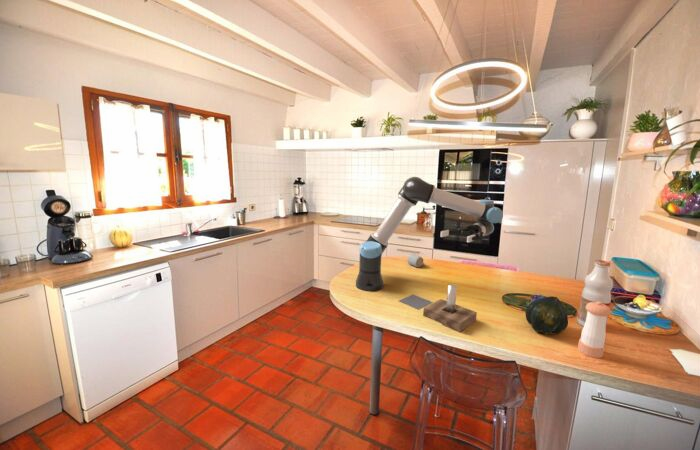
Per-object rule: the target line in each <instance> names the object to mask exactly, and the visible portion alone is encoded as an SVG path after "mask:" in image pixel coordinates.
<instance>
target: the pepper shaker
mask: <svg viewBox="0 0 700 450" xmlns="http://www.w3.org/2000/svg"><path fill="white" fill-rule="evenodd" d="M586 310H587V311H588V312H587V317H586V322H585V325H584V327H583V326H582V329H581V336H580V338H579V340H578V345H577V349H578V351H579V352H581V354H584V355H586V356H588V357H591V358H594V359H595V358H596V359H601V358H603V357H604V353H605V348H606V346H605V341H606V338H607V336H606V335H607V334H606V330H607V329H606V327H607V323H606V321H607V322H608V318H607V316H608V317H610V316H611V314H612V309H611V308H610V307H608V306H606V305H604V304H602V303H601V302H590V303H588V304H587V305H586Z"/></svg>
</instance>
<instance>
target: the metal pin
mask: <svg viewBox="0 0 700 450" xmlns="http://www.w3.org/2000/svg"><path fill="white" fill-rule="evenodd" d="M457 291H458V286H457V285H456V284H448V285H447V295H446V301H447V303H446V312H448V313H451V314H453V313H455V304H456V302H457Z"/></svg>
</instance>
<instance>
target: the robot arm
mask: <svg viewBox="0 0 700 450" xmlns="http://www.w3.org/2000/svg"><path fill="white" fill-rule="evenodd" d="M397 197H398V198H397V199H396V201H395V203H393V205H392V207H391V208H390V210H389V211H388V213H387V214H386V216H385V217H384V219H383V220H382V222H381V223H380V225H379V227H378V228H377V229H376V231H375V232H372V233H370V235H369V236H368V238H367V239H366V240H365V241H364V242H363V243H361V244H360V247H359V251H358V252H359V265H358V266H359V267H358V268H359V270H358V274H357V277H356V280H355V286H356V288H357V289H359V290H362V291H369V292H370V291H371V292H372V291H373V292H375V291H380V290H382V289H383V288H384V280H383V276H382V271H381V270H382V256H383V253H384V252H385V251H386V249H387V248H388V246H389V240H390V238H391V237H392V236H393V234H394V233H395V231H396V230H397V228H398V226H399V225H400V224H401V223H402V221H403V220H404V218H405V216H406V215H407V214H408V212H409V211H410V209H411V208H412V207H415V206H416V205H417V204H418V202H421V203H426V204H430V203H431V204H434V205H437V206H440V207H444V208H447V209H451V210H453V211H457V212H460V213H463V214H466V215H470V216H472V217H475V218H476V223H473V224H469V225H467V226H466V227H465V228H460V227H457V228H456V227H455V228H443V230H441V231H440V236H439V237H440V238H444V237H448V236H449V235H450V236H452V235H453V236H457V235H458V236H460V237H466V243H471V242H474V241H476V242H477V241H480V242H483V240H484V237H486V236H489V235H491V234H492V233H494V230H495V226H494V224H497V223H500V222H501V221H502V219H503V218H504V212H503V211H502V209H501V208H499V207H497V206H495V201H494V200H492V199H479V200H478V201H477V200H474V199H471V198H469V197H465V196H463V195H459V194H457V193H452V192H449V191H446V190H445V189H444V190H443V189H440V188H437V187H436V185H434V184H431V183H429V182H427V181H425V180H423V179H422V178H421V177H419V176H410V177H409V178H407V179H406V180H405V181H404V183H403V186H402V187H401V188H400V190H399V192H398V193H397Z"/></svg>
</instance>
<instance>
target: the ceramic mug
mask: <svg viewBox="0 0 700 450" xmlns="http://www.w3.org/2000/svg"><path fill="white" fill-rule="evenodd" d="M407 264H408V265H411V266H412V267H416V268H420V267H422V266H424V265H425V262H424V258H423V257H422V256H420V255H419V254H418V255H417V253H416V254H415V253H410V254H409V255H408V258H407Z"/></svg>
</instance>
